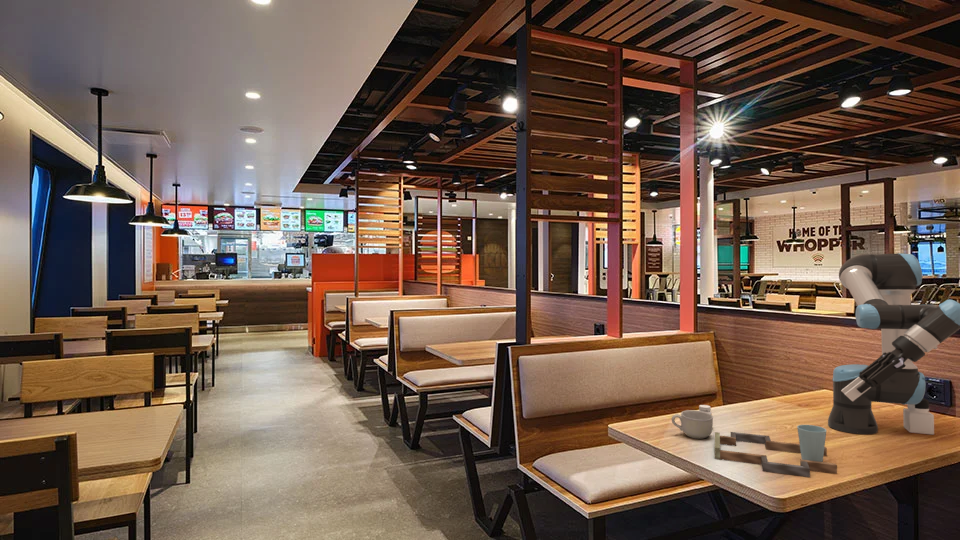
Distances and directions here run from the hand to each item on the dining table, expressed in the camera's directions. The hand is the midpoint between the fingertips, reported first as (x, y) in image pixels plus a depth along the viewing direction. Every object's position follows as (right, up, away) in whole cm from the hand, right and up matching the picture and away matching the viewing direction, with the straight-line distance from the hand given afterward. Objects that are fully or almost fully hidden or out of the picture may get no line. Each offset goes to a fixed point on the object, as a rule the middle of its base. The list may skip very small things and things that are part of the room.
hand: (846, 395), depth 159 cm
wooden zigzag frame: (-18, -21, +8) cm, 29 cm away
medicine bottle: (+48, -21, +32) cm, 62 cm away
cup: (-8, -22, +4) cm, 23 cm away
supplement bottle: (-27, -22, +38) cm, 51 cm away
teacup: (-35, -22, +30) cm, 51 cm away
